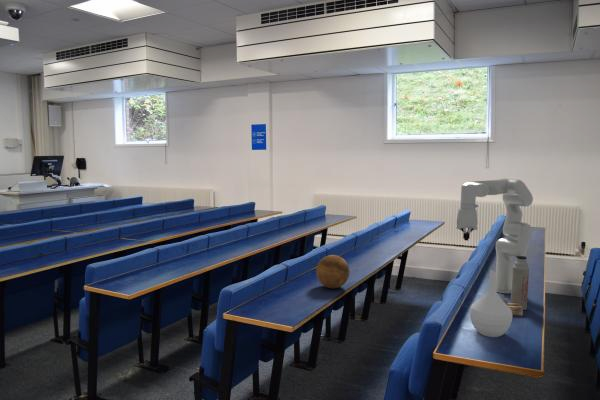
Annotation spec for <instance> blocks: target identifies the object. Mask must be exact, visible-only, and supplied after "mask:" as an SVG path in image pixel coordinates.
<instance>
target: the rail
mask: <svg viewBox="0 0 600 400" xmlns="http://www.w3.org/2000/svg"><path fill="white" fill-rule="evenodd" d="M507 306H508V307H509V308H510V309H511V311H512V316H523V315H524V311H523V307H522V306H521V305H520V304H516V303H511V302H507Z"/></svg>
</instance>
